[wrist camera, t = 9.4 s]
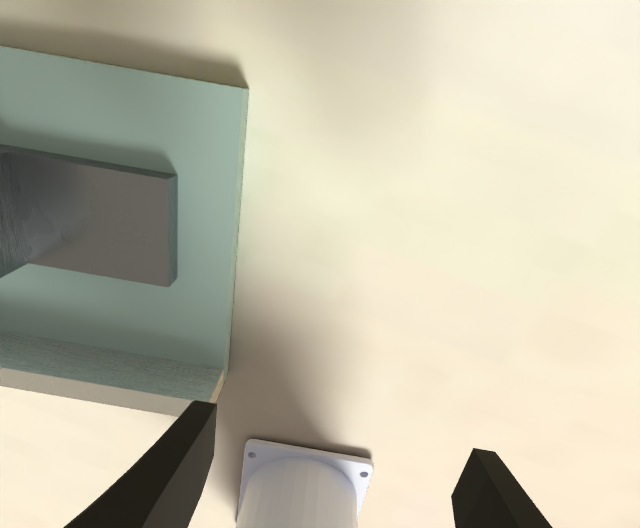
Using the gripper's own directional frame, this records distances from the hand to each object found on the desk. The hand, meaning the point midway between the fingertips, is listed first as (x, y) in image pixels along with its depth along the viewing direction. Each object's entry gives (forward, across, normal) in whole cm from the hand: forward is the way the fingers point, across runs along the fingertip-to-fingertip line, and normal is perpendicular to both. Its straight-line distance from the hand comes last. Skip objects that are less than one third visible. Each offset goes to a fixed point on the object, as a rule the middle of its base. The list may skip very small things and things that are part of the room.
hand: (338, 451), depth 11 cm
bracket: (+8, +12, -2) cm, 15 cm away
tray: (+9, +13, -1) cm, 16 cm away
